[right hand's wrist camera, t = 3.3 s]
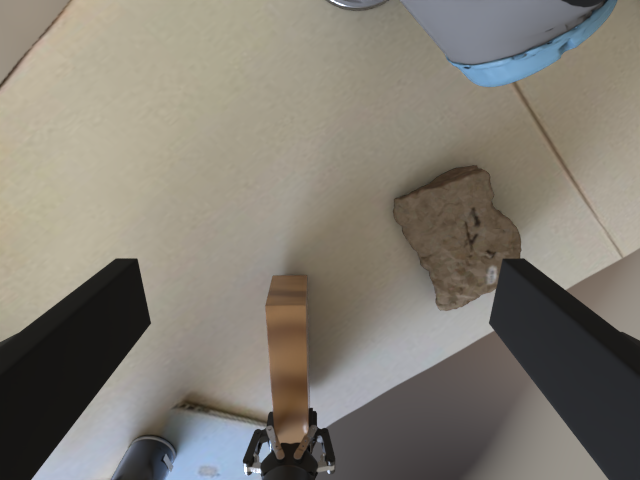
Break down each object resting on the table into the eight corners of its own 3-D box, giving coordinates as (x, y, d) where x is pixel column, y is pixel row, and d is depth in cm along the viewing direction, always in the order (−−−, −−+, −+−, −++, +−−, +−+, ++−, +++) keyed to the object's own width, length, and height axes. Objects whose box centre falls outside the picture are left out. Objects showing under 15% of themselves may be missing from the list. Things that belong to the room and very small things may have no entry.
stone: (533, 278, 55) (545, 296, 49) (439, 305, 60) (441, 324, 55) (484, 153, 51) (491, 157, 45) (389, 195, 57) (385, 203, 51)
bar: (272, 275, 57) (265, 305, 48) (307, 275, 57) (305, 304, 48) (280, 404, 66) (275, 447, 58) (309, 403, 66) (309, 447, 58)
